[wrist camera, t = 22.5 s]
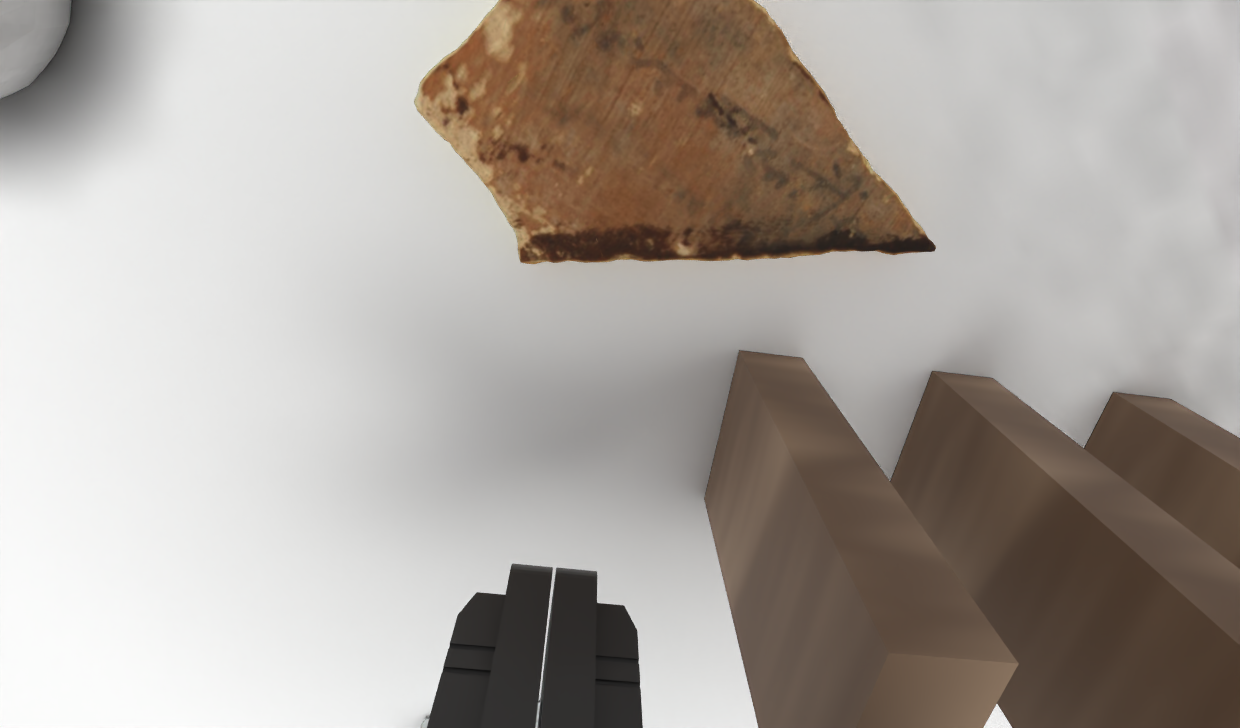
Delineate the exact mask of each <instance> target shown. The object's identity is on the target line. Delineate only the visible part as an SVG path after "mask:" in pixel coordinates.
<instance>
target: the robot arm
mask: <svg viewBox="0 0 1240 728" xmlns="http://www.w3.org/2000/svg"><path fill="white" fill-rule="evenodd" d="M552 570H553V567H542V566H532V565H521V564H512V566H511V570H510V575H509V580H508V585H507V591H506V595H500V594H489V593H478V592H477V593H476V594H475V595H474V596H473V597H472V599H471V600H470V601H469V602H468V603H467V605H466V606H465V607H464V608H463V609H462V611H461V612H460V613H459V614H458V616H457V620H456V623H455V627H454V631H453V634H452V638H451V642H450V647H449V649H448V653H447V656H446V660H445V663H444V668H443V673H442V674H441V678H440V682H439V685H438V689H437V692H436V696H435V700H434V703H433V707H432V711H431V714H430V718H429V721H428V725H427V728H535V727H536V718H537V708H538V699H539V690H540V681H541V672H542V662H543V653H544V644H545V635H546V626H547V617H548V607H549V598H550V589H551V580H552ZM638 661H639V655H638V637H637V629H636V628H635V626H634V624H633V622H632V620H631V618H630V616H629V614H628V612H627V610H626V609H625V607H624V606H623V605H612V604H601V603H597V571H586V570H576V569H565V568H556V574H555V582H554V589H553V597H552V605H551V613H550V620H549V628H548V636H547V644H546V653H545V662H544V671H543V681H542V690H541V700H540V709H539V719H538V728H643V726H642V708H641V690H640V672H639V664H638Z"/></svg>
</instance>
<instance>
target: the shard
mask: <svg viewBox="0 0 1240 728" xmlns="http://www.w3.org/2000/svg"><path fill="white" fill-rule="evenodd" d="M414 103H415V105H416V108H417V110H418V112H419V113H420V114H421V115H422V116H423V117H424V118H425V119H426V121H427V122H428V123H429V124H430V125H431V126H432V127H433V129H434V130H435V131H436V132H437V133H438V134H439V135H440V136H441V137H442V138H443V139H444V140H446V141H448V142H450V144H451V145H452V147H453V148H454V150H455V151H456V152H457V153H458V154H459V155H460V156H461V157H462V158H463V159H464V161H465V162H466V163H467V164H468V166H469V167H470V168H471V169H472V170H473V171H474V172H475V173H476V174H477V175H478V176H479V178H480V179H481V180H482V182H483V183H484V184H485V185H486V186H487V188H488V189H489V190H490V191H491V193H492V195H493V196H494V198H495V200H496V202H497V204H498V206H499V207H500V209H501V210H502V212H503V213H504V215H505V216H506V218H507V220H508V222H509V224H510V225H511V226H512V228H513V229H514V231H515V233H516V237H517V241H518V254H519V259H520V262H521V263H527V264H537V263H540V262H546V261H549V262H553V263H558V262H563V261H577V262H585V263H588V262H610V261H614V260H620V259H623V260H627V259H633V260H639V261H664V260H700V261H727V260H733V259H742V260H752V259H763V258H773V259H775V258H780V257H782V258H791V257H797V256H807V255H820V254H824V253H828V252H833V251H843V252H845V251H878V252H881V253H885V254H890V255H897V254H903V253H918V252H932V251H935V249H936V246H935V245H934V243H933V242H932V241H930V240H929V239H928V237H927V236H926V234H925V232H924V231H923V229H922V228H921V226H920V225H919V224H918V223H917V222H916V221H915V220H914V219H913V218H912V216H911V214H910V213H909V211H908V209H907V208H906V207H905V206H904V204H903V203H902V201H901V200H900V198H899V196H898V195H897V194H896V193H895V192H894V191H893V190H892V189H891V188H890V187H889V186H888V185H887V184H886V183H885V182H884V181H883V180H882V179H881V177H880V176H879V175H877V174H876V173H875V172H874V171H873V170H872V168H871V166H870V164H869V162H868V160H867V159H866V158H865V157H864V156H863V155H862V153H861V152H860V150H859V149H858V147H857V146H856V145H855V143H854V142H853V141H852V139H851V138H850V137H849V135H848V133H847V131H846V130H845V129H844V127H843V125H842V124H841V122H840V121H839V120H838V119H837V117H836V113H835V110H834V108H833V107H832V105H831V104H830V102H829V100H828V98H827V96H826V94H825V93H824V91H823V90H822V88H821V87H820V86H819V85H818V83H817V82H816V81H815V79H814V78H813V76H812V75H811V74H810V72H809V71H808V70H807V69H806V68H805V67H804V66H803V65H802V63H801V62H800V60H799V59H798V58H797V56H796V55H795V54H794V52H793V51H792V49H791V47H790V45H789V44H788V42H787V40H786V38H785V36H784V34H783V32H782V30H781V29H780V28H779V27H778V26H777V25H776V23H775V21H774V20H773V19H772V18H771V17H770V16H769V15H768V13H767V11H766V9H765V8H763V7H762V6H761V5H759V4H758V3H756V2H755V1H754V0H499V1H498V2H497V4H496V5H495V6H494V8H493V9H492V10H491V11H490V12H489V13H488V14H487V15H486V16H485V18H484V19H483V20H482V22H481V23H480V24H479V25H478V27H477V28H476V29H475V30H474V31H473V33H472V34H471V35H470V36H469V37H468V38H467V39H466V40H465V41H464V42H463V43H462V44H461V45H460V46H459V48H458V49H457V50H455V51H453V52H452V53H450V54H449V55H447V56H445V57H444V58H443V59H442V60H441V61H440V62H439V63H438V64H437V65H435V66H434V67H433V68H432V69H431V70H430V71H429V72H428V73H427V74H426V76H425V77H424V78H423V80H422V81H421V82H420V85H419V89H418V93H417V96H416V98H415V101H414Z"/></svg>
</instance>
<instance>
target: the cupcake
mask: <svg viewBox="0 0 1240 728" xmlns="http://www.w3.org/2000/svg"><path fill="white" fill-rule="evenodd" d="M71 2H72V0H0V98H3V97H6V96H8V95H11V94H13V93H15V92H17V91H19V90H21V89H23V88H25V87H27V86H29V85H30V84H31V83H32V82H33V81H34V80H35V79H36V78H37V77H38V75H39V74H40V73H41V72H42V71H43V70H44V69H45V67H46V66H47V65H48V63H49V62H50V61H51V59H52V58H53V57H54V55H55V54H56V52H57V50H58V48H59V46H60V44H61V43H62V41H63V38H64V36H65V33H66V31H67V28H68V26H69V23H70V15H71Z"/></svg>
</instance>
